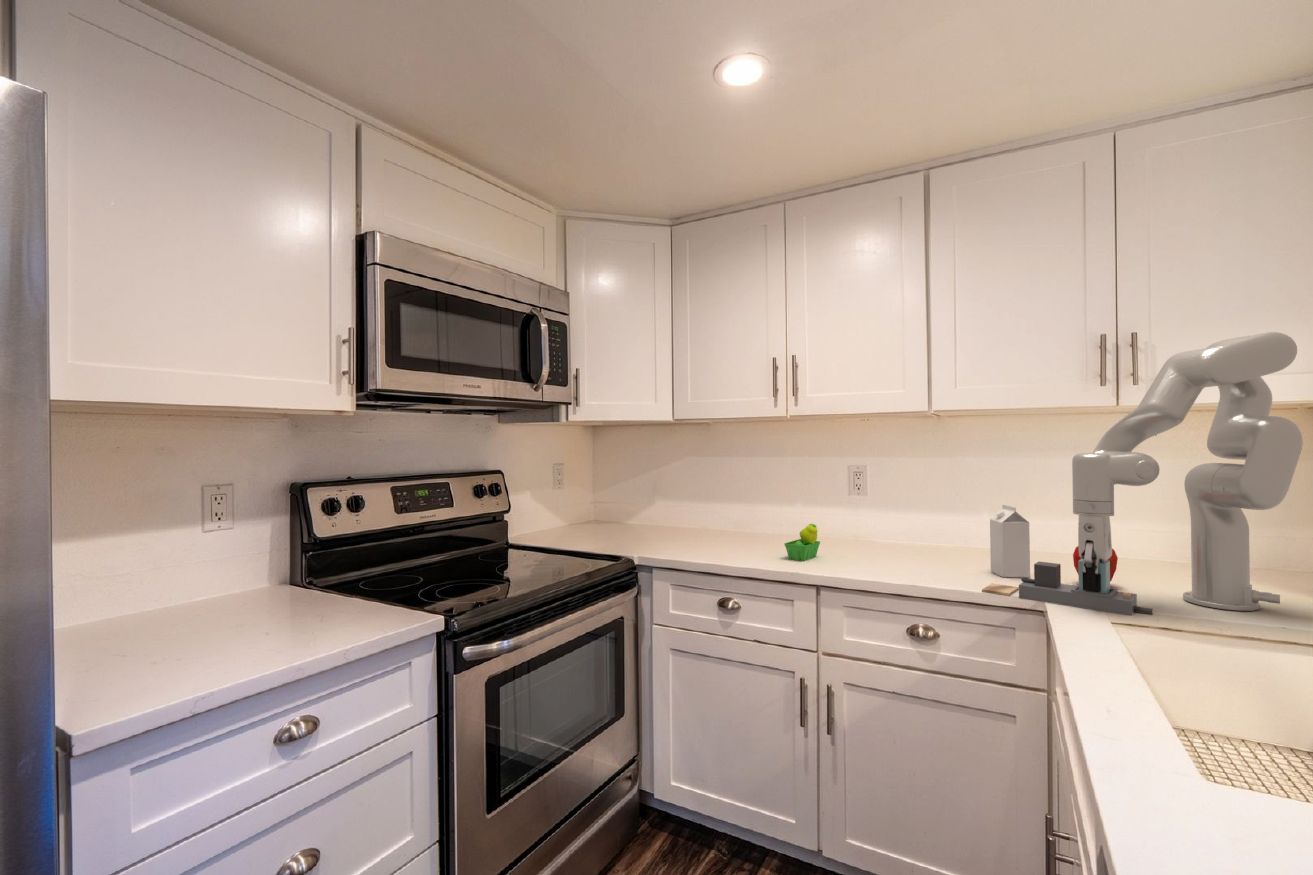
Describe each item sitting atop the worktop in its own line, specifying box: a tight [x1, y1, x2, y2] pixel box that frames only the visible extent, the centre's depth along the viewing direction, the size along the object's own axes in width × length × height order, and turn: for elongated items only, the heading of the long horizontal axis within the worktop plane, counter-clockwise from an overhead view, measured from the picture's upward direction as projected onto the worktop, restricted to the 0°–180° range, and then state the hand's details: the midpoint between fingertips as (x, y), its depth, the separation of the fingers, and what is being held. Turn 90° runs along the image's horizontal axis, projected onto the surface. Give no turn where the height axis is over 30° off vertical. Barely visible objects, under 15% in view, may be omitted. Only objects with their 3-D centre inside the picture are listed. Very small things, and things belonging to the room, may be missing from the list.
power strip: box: [1018, 561, 1154, 616], centre depth 135 cm, size 24×8×8 cm, turn 45°
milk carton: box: [989, 504, 1031, 578], centre depth 163 cm, size 7×7×19 cm
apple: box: [1072, 545, 1119, 582], centre depth 150 cm, size 9×9×12 cm
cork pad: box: [981, 583, 1019, 597], centre depth 147 cm, size 6×8×1 cm
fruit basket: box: [783, 523, 821, 562], centre depth 189 cm, size 11×9×11 cm
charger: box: [1078, 559, 1111, 594], centre depth 133 cm, size 5×5×7 cm
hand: (1094, 587), depth 133 cm, fingers closed on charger, 5 cm apart
